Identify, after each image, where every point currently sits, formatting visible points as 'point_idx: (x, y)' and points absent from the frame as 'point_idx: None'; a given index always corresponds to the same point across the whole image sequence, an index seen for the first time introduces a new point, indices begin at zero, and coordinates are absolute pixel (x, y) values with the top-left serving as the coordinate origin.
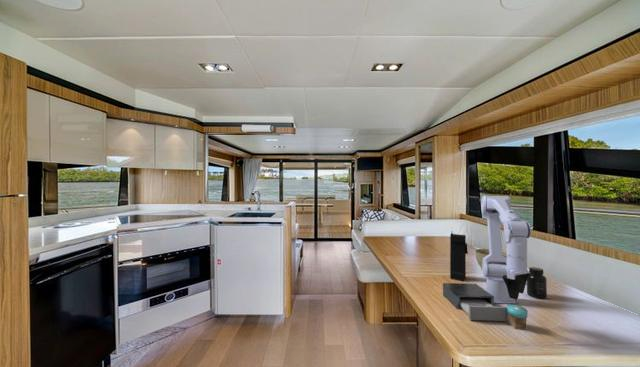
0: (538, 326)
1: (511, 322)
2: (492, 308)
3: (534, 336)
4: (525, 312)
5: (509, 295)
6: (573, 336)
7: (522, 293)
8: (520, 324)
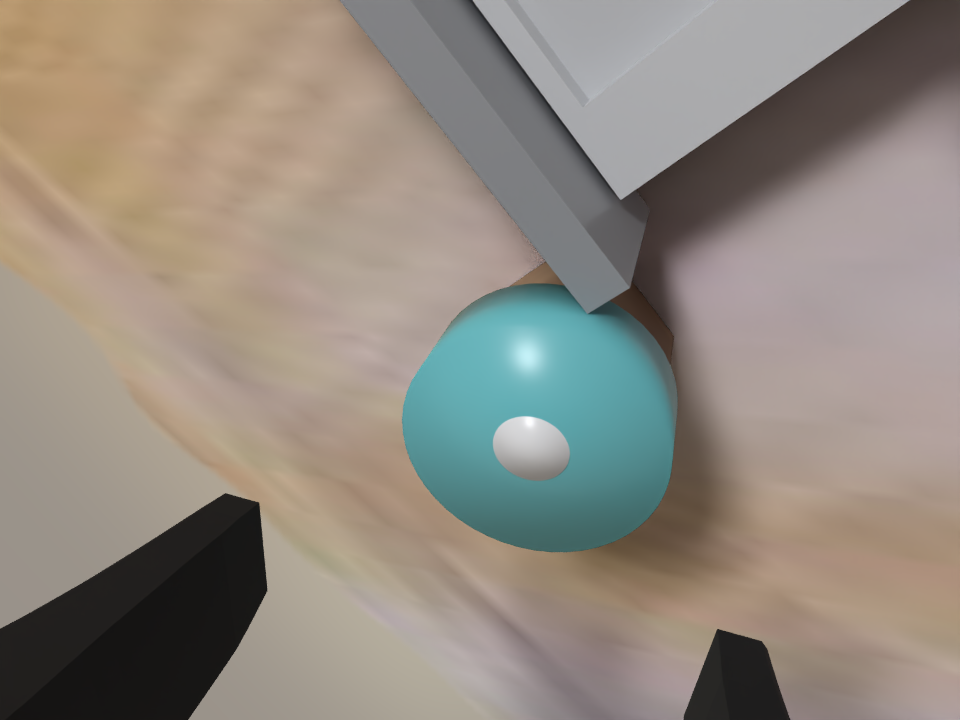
0: (734, 500)
1: (532, 281)
2: (418, 84)
3: None
4: (464, 521)
5: (186, 521)
6: None
7: (686, 714)
8: None
